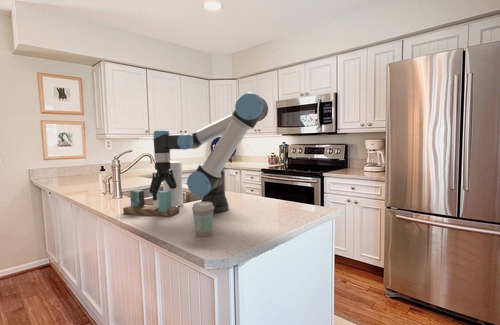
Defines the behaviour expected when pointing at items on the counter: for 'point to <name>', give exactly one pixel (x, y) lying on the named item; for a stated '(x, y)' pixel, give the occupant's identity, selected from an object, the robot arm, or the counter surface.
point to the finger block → (164, 201)
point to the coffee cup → (203, 218)
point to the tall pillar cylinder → (178, 191)
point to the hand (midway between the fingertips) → (164, 203)
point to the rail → (142, 209)
